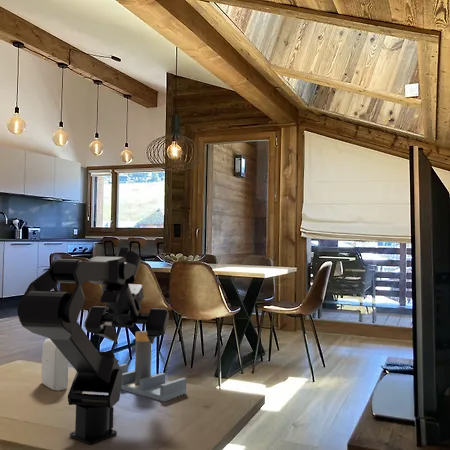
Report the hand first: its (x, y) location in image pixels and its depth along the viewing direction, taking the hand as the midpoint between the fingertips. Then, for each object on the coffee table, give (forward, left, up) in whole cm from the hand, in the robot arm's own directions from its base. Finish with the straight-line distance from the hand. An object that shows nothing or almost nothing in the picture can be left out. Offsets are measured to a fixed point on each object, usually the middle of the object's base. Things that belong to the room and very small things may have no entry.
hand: (134, 341), depth 114 cm
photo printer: (-7, +23, -14) cm, 27 cm away
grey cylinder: (+7, +4, -12) cm, 14 cm away
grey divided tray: (+7, +4, -13) cm, 15 cm away
